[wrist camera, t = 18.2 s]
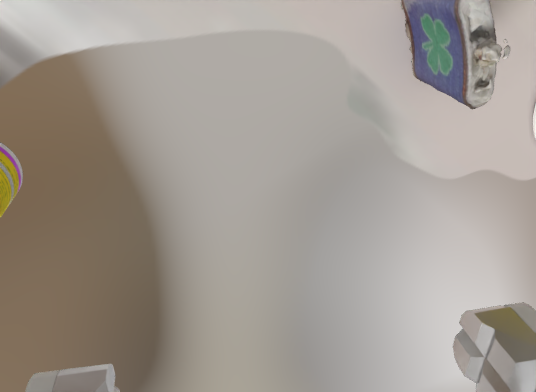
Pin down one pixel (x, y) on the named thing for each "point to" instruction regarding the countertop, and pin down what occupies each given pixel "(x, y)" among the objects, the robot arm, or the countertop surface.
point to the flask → (454, 47)
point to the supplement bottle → (8, 177)
